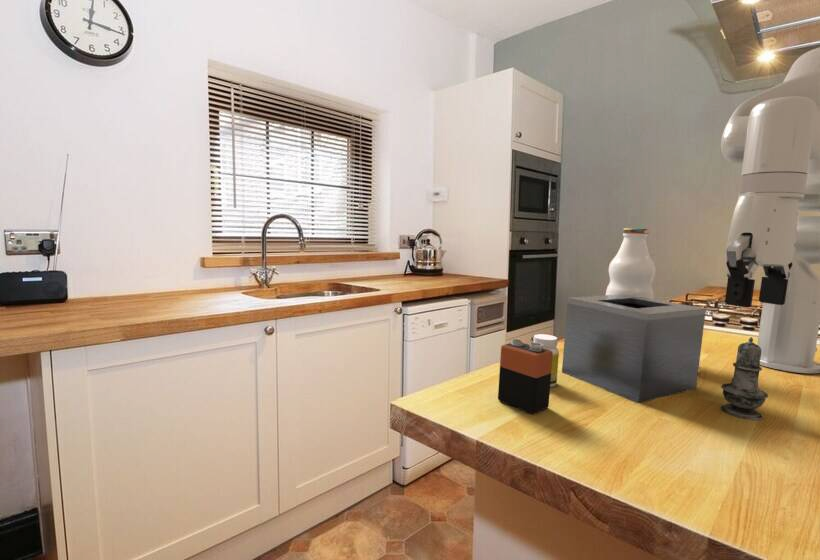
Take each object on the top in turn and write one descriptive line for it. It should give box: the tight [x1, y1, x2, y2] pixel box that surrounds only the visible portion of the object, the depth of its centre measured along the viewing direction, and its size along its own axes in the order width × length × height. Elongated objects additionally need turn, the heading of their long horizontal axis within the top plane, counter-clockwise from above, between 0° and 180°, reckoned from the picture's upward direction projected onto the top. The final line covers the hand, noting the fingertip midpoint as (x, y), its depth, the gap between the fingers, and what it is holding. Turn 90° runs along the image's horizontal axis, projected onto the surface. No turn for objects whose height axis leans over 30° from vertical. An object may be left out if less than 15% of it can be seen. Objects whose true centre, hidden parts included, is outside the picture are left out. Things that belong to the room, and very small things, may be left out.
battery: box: [497, 338, 553, 415], centre depth 68 cm, size 4×7×10 cm, turn 41°
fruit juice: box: [605, 227, 657, 299], centre depth 96 cm, size 9×9×28 cm
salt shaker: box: [719, 336, 769, 421], centre depth 68 cm, size 6×6×12 cm
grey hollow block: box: [561, 294, 707, 403], centre depth 81 cm, size 16×16×14 cm
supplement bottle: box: [532, 333, 560, 388], centre depth 78 cm, size 5×5×8 cm
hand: (755, 304), depth 66 cm, fingers open, 9 cm apart
